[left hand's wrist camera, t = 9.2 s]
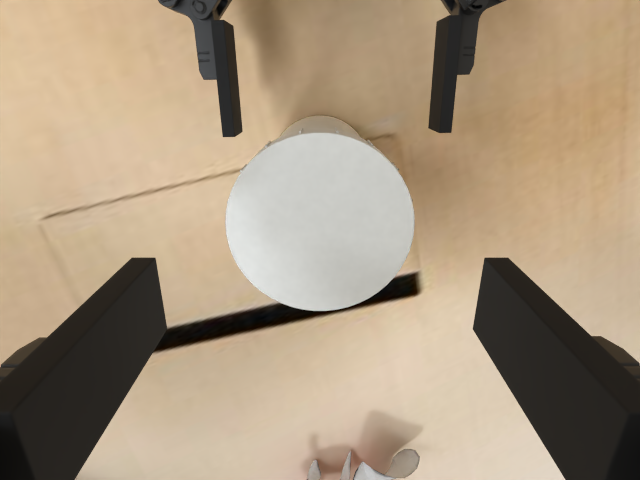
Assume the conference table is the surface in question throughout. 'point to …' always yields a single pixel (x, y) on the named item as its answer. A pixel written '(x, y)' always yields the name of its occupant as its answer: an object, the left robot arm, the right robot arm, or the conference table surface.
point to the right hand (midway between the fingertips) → (336, 133)
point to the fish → (367, 476)
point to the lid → (319, 219)
